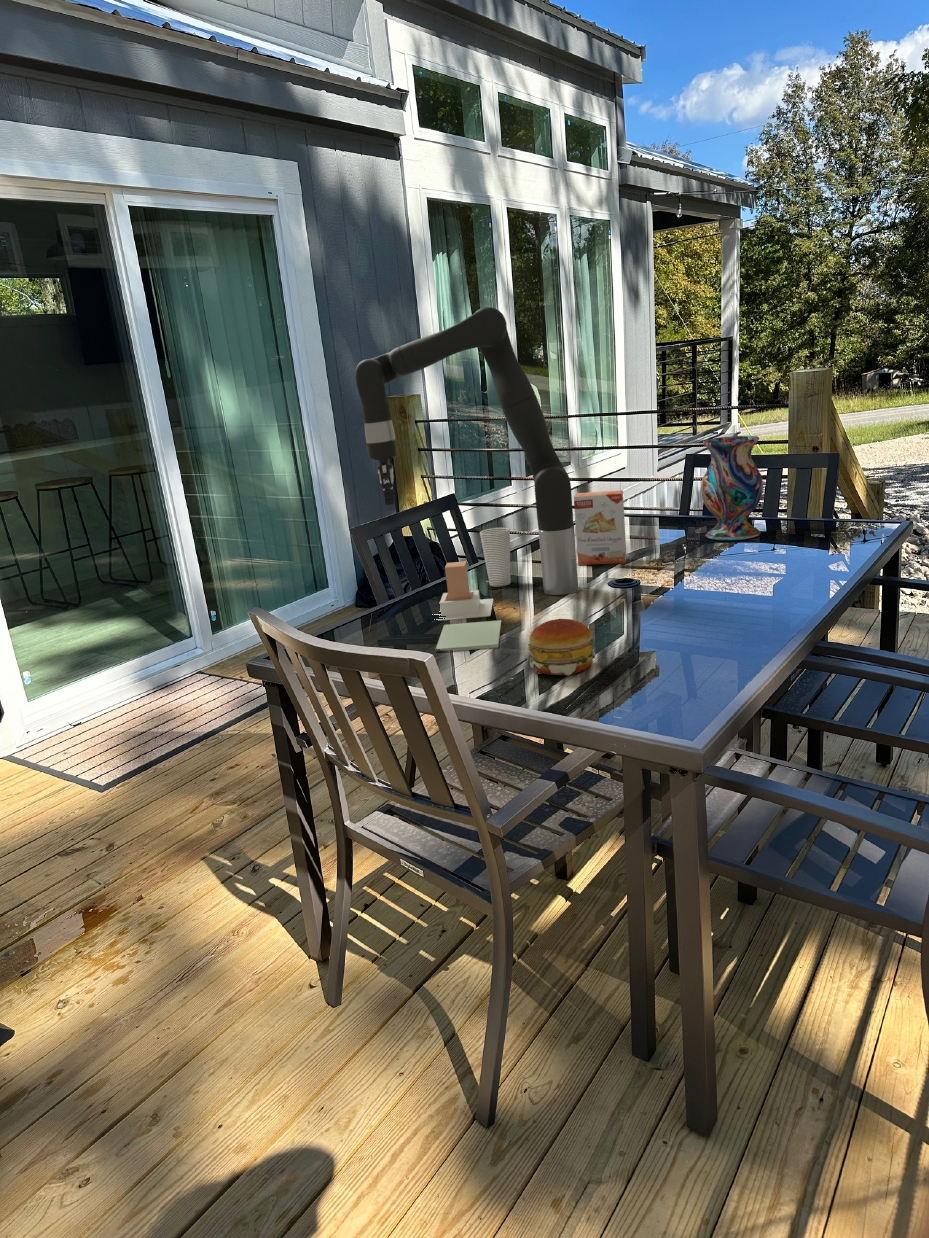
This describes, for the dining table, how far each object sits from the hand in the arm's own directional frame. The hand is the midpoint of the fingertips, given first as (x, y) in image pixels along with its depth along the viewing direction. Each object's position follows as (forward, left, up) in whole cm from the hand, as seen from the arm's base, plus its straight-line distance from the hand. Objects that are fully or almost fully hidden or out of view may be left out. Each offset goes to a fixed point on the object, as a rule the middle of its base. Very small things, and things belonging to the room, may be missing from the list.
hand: (390, 502), depth 225 cm
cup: (-25, -15, -29) cm, 41 cm away
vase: (-97, -50, -29) cm, 113 cm away
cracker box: (-55, -30, -29) cm, 69 cm away
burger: (-41, +57, -29) cm, 76 cm away
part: (-16, +10, -28) cm, 34 cm away
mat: (-20, +32, -29) cm, 48 cm away
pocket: (-16, +10, -29) cm, 34 cm away
